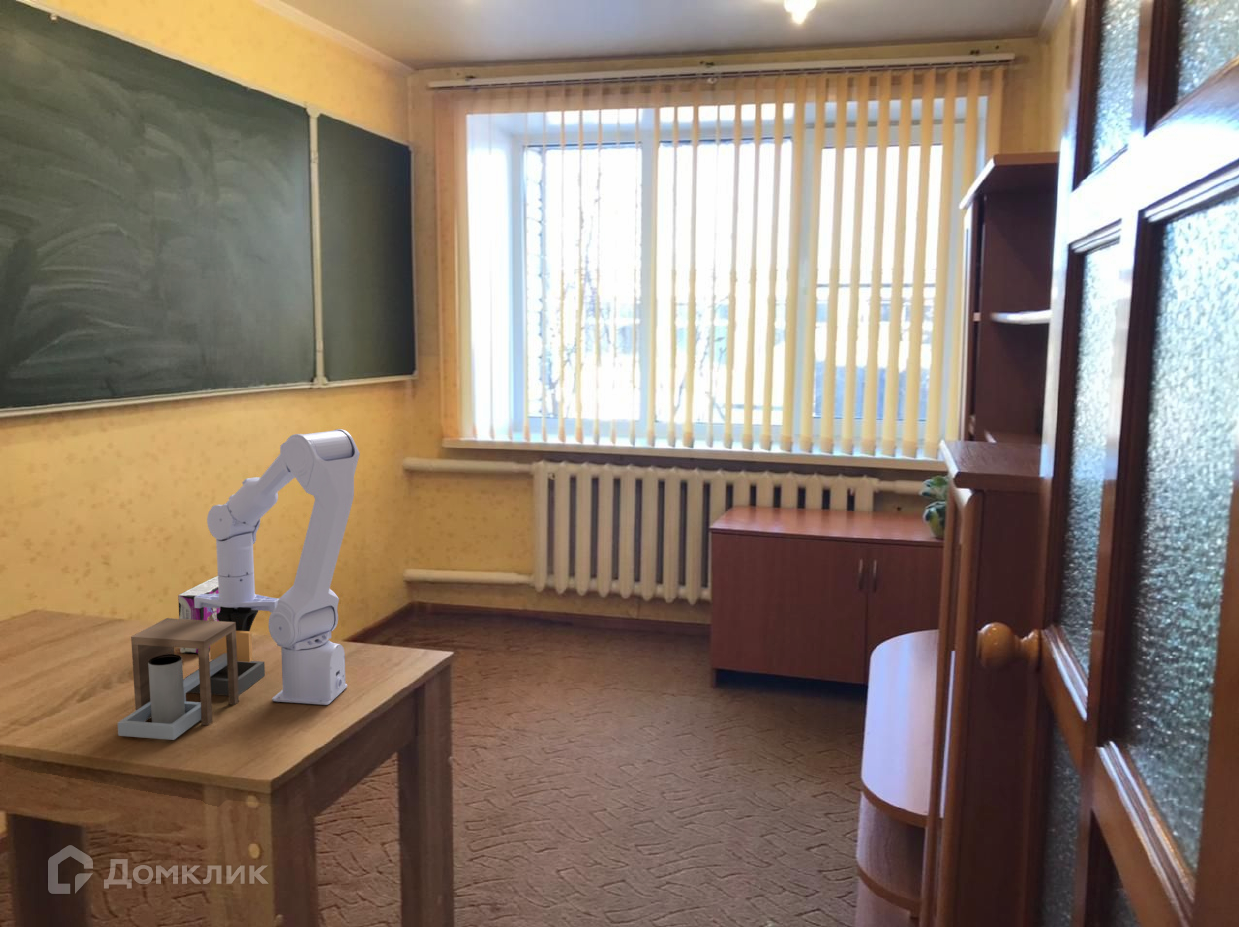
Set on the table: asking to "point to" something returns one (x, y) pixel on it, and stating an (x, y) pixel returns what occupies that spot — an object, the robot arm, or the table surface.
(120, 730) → the slider
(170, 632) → the tunnel
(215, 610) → the candy bar box
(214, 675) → the box
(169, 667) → the gray cylinder
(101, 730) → the table surface
